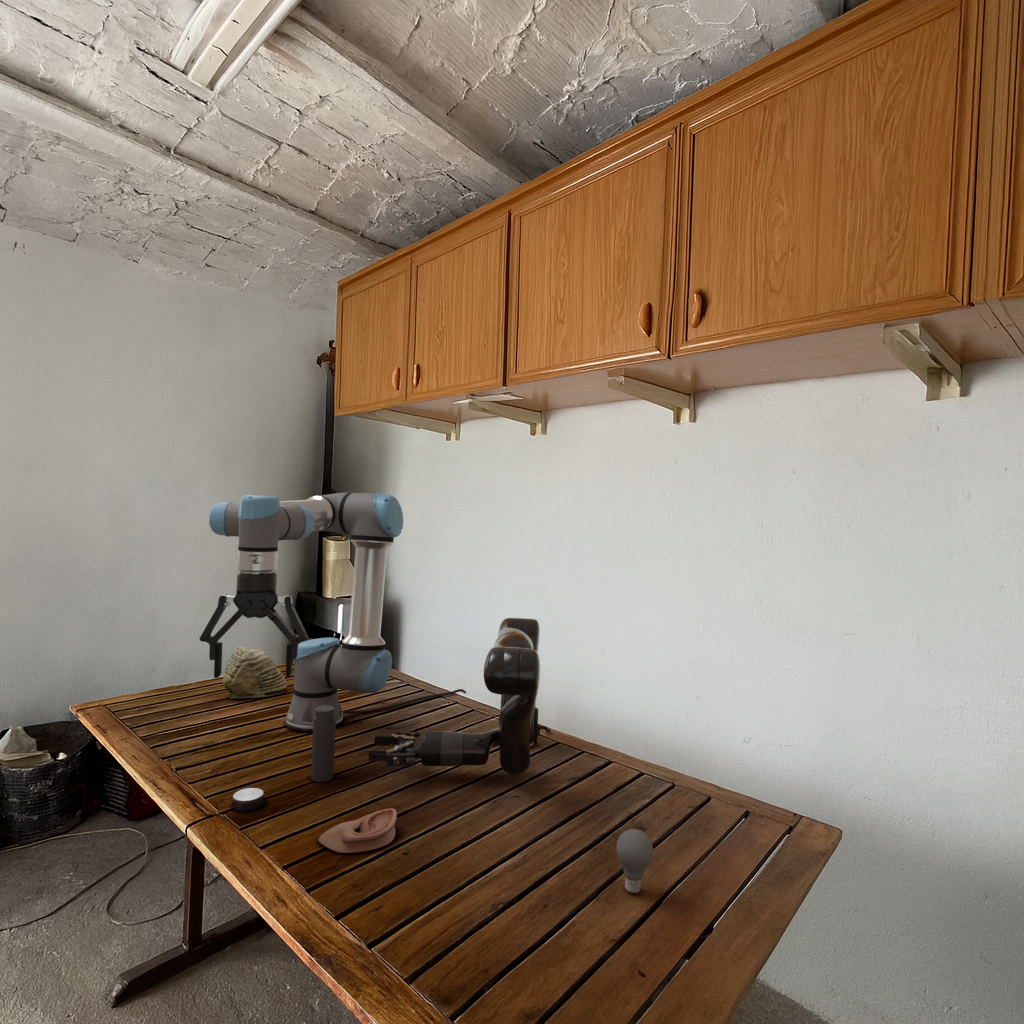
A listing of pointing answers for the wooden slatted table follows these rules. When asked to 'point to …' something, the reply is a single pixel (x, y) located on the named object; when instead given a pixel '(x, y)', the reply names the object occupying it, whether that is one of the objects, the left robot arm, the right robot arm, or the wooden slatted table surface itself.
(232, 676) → the fossil
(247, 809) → the lid
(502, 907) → the wooden slatted table surface
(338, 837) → the anatomical model
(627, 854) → the light bulb
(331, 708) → the dark grey cylinder
